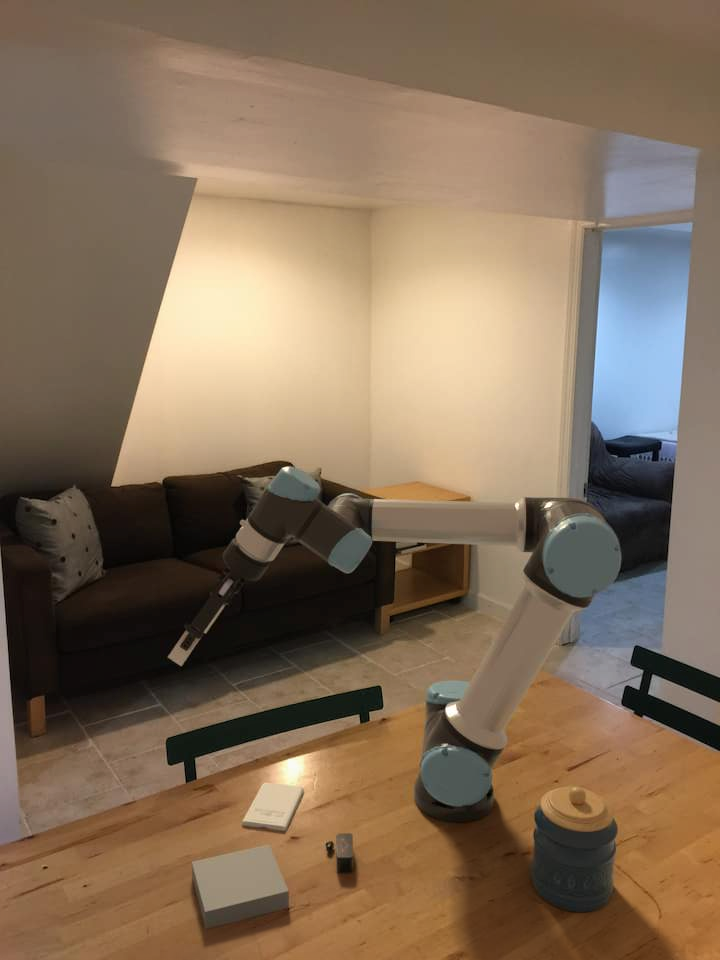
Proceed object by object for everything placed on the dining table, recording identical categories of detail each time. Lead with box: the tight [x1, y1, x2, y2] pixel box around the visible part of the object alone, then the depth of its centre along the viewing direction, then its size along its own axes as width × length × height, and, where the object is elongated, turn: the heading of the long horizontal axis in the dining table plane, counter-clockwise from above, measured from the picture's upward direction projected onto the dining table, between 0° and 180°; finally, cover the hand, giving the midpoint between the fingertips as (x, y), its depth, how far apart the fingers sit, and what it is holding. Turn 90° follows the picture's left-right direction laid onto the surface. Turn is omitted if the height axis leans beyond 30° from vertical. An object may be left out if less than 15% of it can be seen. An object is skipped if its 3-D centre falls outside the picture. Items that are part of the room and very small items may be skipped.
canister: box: [530, 786, 619, 913], centre depth 132 cm, size 13×13×18 cm
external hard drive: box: [241, 782, 305, 832], centre depth 153 cm, size 2×8×12 cm
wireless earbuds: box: [325, 832, 354, 874], centre depth 139 cm, size 5×7×3 cm, turn 2°
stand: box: [191, 843, 290, 930], centre depth 131 cm, size 13×12×3 cm
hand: (188, 644), depth 142 cm, fingers open, 13 cm apart
